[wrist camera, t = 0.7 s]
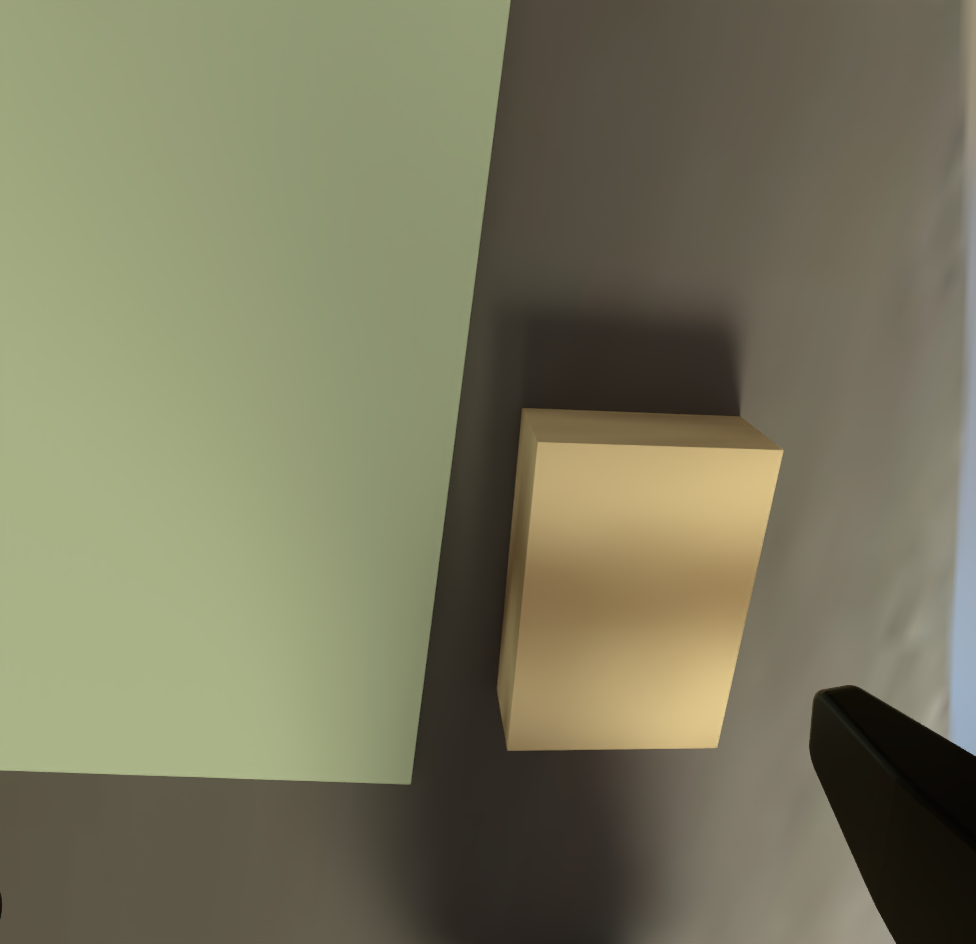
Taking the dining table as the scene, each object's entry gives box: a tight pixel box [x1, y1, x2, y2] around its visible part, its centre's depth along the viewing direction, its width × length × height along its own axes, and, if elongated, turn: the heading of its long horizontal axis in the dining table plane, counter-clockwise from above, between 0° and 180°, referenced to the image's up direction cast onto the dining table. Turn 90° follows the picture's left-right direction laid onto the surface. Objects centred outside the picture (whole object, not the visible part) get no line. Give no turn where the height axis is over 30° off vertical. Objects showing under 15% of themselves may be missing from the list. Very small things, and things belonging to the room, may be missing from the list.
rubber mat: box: [0, 0, 511, 784], centre depth 19 cm, size 22×16×1 cm
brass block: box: [497, 408, 783, 751], centre depth 21 cm, size 9×6×3 cm, turn 176°
